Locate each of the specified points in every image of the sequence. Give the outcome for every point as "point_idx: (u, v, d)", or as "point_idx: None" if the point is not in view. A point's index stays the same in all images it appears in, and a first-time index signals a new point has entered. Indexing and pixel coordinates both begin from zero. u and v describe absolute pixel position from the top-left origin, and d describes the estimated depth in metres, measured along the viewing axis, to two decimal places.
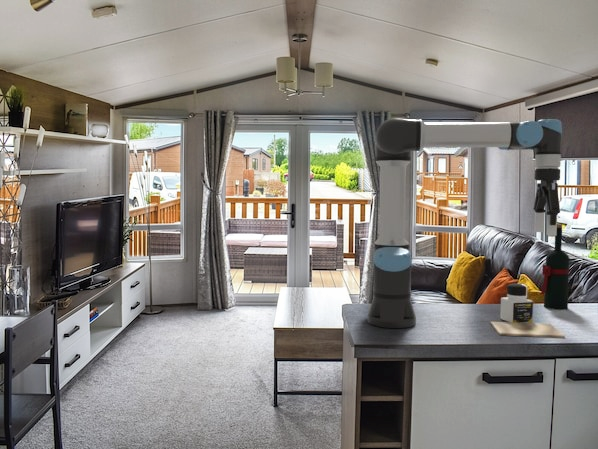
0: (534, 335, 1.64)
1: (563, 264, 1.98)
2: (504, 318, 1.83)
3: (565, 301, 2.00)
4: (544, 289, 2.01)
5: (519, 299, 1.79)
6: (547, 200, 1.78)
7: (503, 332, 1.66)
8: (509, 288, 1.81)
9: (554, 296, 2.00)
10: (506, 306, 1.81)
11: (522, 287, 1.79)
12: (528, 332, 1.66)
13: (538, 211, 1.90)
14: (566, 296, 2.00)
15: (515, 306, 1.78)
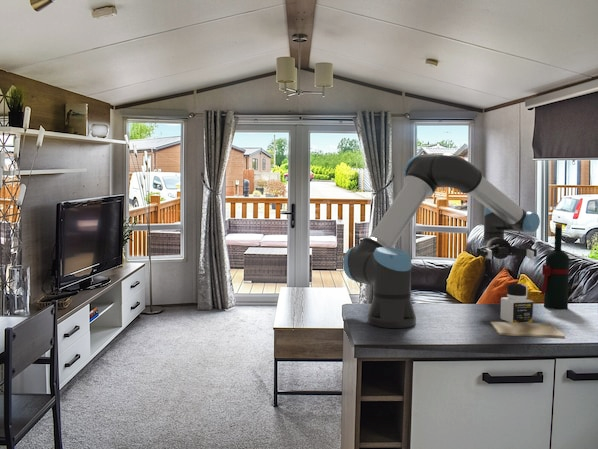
0: (534, 335, 1.64)
1: (563, 264, 1.98)
2: (504, 318, 1.83)
3: (565, 301, 2.00)
4: (544, 289, 2.01)
5: (519, 299, 1.79)
6: (520, 248, 2.00)
7: (503, 332, 1.66)
8: (509, 288, 1.81)
9: (554, 296, 2.00)
10: (506, 306, 1.81)
11: (522, 287, 1.79)
12: (528, 332, 1.66)
13: (486, 251, 1.98)
14: (566, 296, 2.00)
15: (515, 306, 1.78)
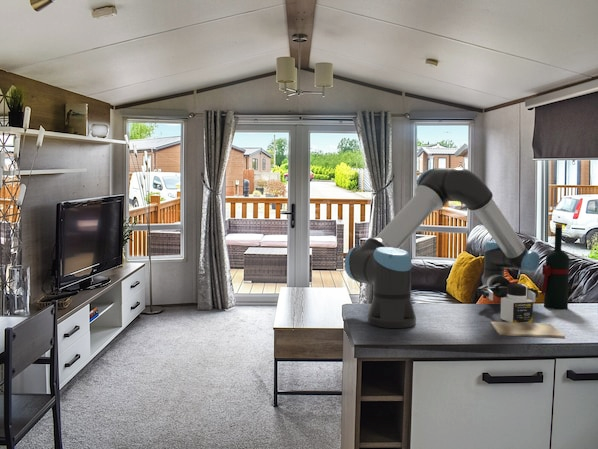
0: (534, 335, 1.64)
1: (563, 264, 1.98)
2: (504, 318, 1.83)
3: (565, 301, 2.00)
4: (544, 289, 2.01)
5: (519, 299, 1.79)
6: None
7: (503, 332, 1.66)
8: (509, 288, 1.81)
9: (554, 296, 2.00)
10: (506, 306, 1.81)
11: (522, 287, 1.79)
12: (528, 332, 1.66)
13: None
14: (566, 296, 2.00)
15: (515, 306, 1.78)
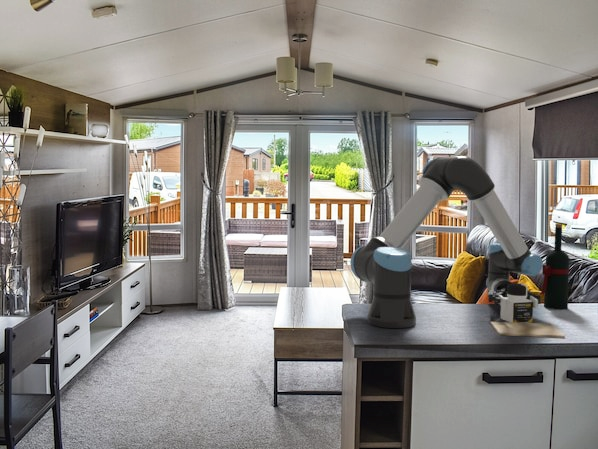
0: (534, 335, 1.64)
1: (563, 264, 1.98)
2: (504, 318, 1.83)
3: (565, 301, 2.00)
4: (544, 289, 2.01)
5: (519, 299, 1.79)
6: None
7: (503, 332, 1.66)
8: (509, 288, 1.81)
9: (554, 296, 2.00)
10: (506, 306, 1.81)
11: (522, 287, 1.79)
12: (528, 332, 1.66)
13: None
14: (566, 296, 2.00)
15: (515, 306, 1.78)
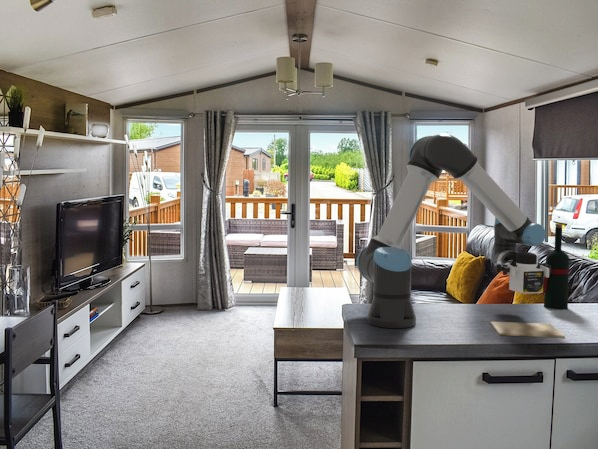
0: (534, 335, 1.64)
1: (563, 264, 1.98)
2: (513, 288, 1.74)
3: (565, 301, 2.00)
4: (544, 289, 2.01)
5: (529, 268, 1.71)
6: None
7: (503, 332, 1.66)
8: (519, 256, 1.72)
9: (554, 296, 2.00)
10: (516, 276, 1.73)
11: (532, 255, 1.70)
12: (528, 332, 1.66)
13: None
14: (566, 296, 2.00)
15: (525, 275, 1.69)
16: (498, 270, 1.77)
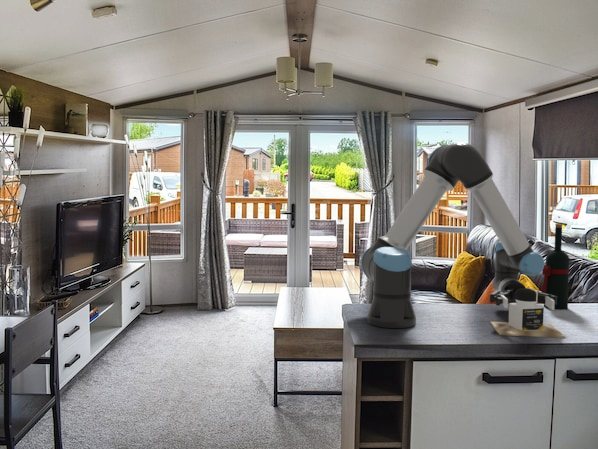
0: (534, 335, 1.64)
1: (563, 264, 1.98)
2: (512, 325, 1.71)
3: (565, 301, 2.00)
4: (544, 289, 2.01)
5: (529, 305, 1.67)
6: None
7: (503, 332, 1.66)
8: (518, 293, 1.69)
9: None
10: (515, 313, 1.70)
11: (532, 292, 1.67)
12: (528, 332, 1.66)
13: None
14: (566, 296, 2.00)
15: (524, 313, 1.66)
16: (491, 300, 1.75)
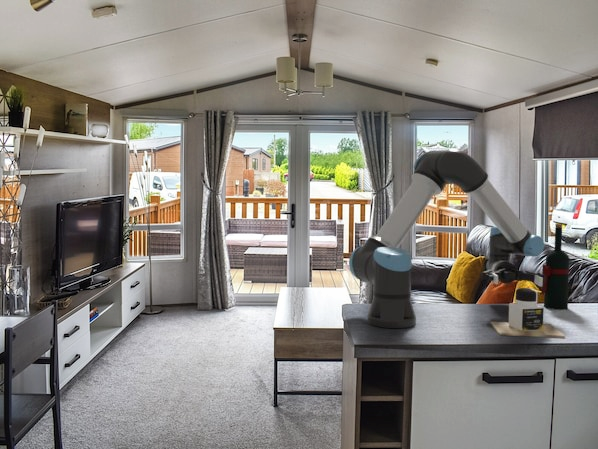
0: (534, 335, 1.64)
1: (563, 264, 1.98)
2: (512, 325, 1.71)
3: (565, 301, 2.00)
4: (544, 289, 2.01)
5: (529, 305, 1.68)
6: (527, 273, 1.90)
7: (503, 332, 1.66)
8: (518, 293, 1.69)
9: (554, 296, 2.00)
10: (515, 313, 1.70)
11: (532, 292, 1.67)
12: (528, 332, 1.66)
13: (491, 275, 1.88)
14: (566, 296, 2.00)
15: (524, 313, 1.66)
16: (483, 278, 1.89)
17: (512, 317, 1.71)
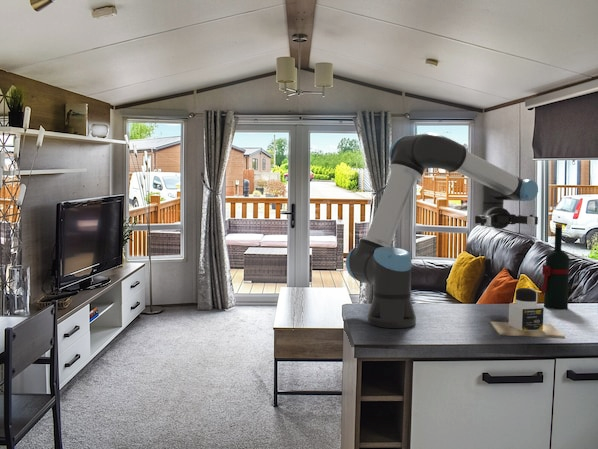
0: (534, 335, 1.64)
1: (563, 264, 1.98)
2: (512, 325, 1.71)
3: (565, 301, 2.00)
4: (544, 289, 2.01)
5: (529, 305, 1.68)
6: (520, 216, 1.92)
7: (503, 332, 1.66)
8: (518, 293, 1.69)
9: (554, 296, 2.00)
10: (515, 313, 1.70)
11: (532, 292, 1.67)
12: (528, 332, 1.66)
13: None
14: (566, 296, 2.00)
15: (524, 313, 1.66)
16: (476, 221, 1.91)
17: (512, 317, 1.71)
